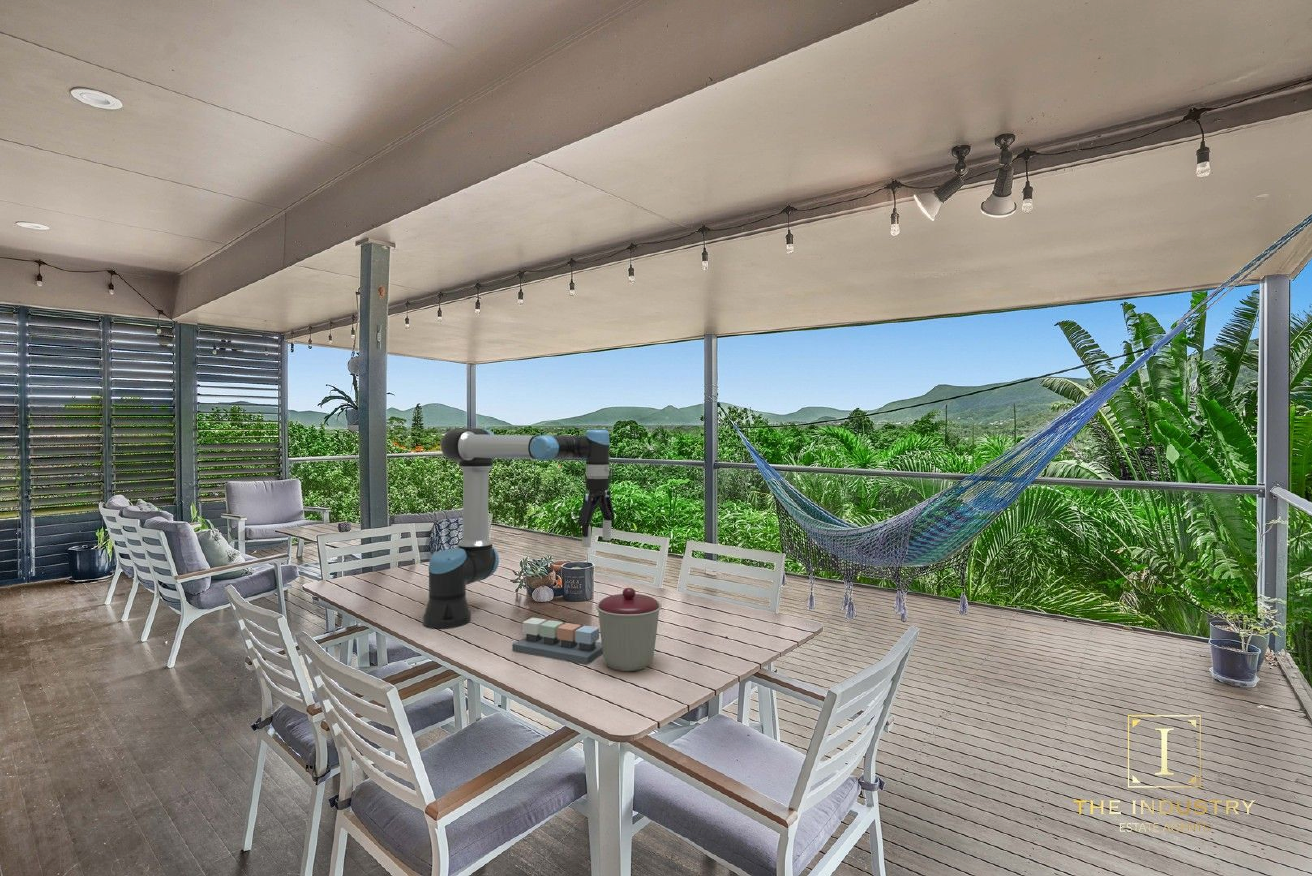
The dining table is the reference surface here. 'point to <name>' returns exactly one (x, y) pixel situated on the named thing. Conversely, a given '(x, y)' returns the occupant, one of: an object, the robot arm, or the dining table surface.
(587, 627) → the key blue
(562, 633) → the key terracotta
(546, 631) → the key sage
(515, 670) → the dining table surface
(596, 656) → the keypad board
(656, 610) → the canister
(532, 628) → the key ivory
